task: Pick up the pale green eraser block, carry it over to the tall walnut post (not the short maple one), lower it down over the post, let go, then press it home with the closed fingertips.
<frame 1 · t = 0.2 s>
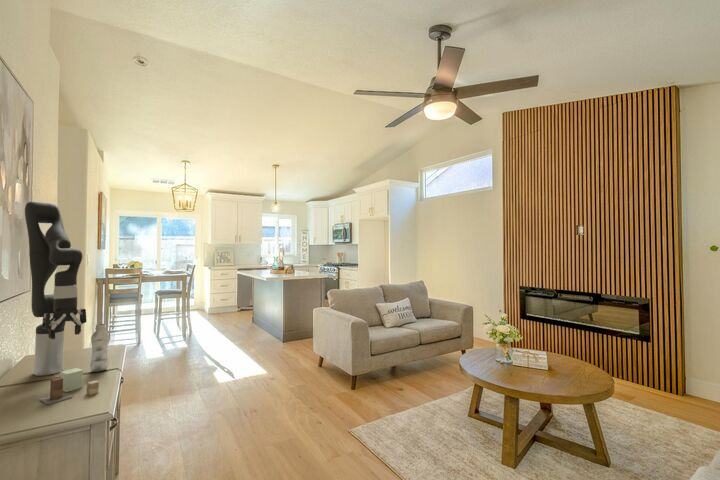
hand: (65, 336, 142), 17 cm above the table, tool pointing down, fingers open, 8 cm apart
maple post: (92, 393, 128), on the table
pale green eraser block: (71, 388, 132), on the table
plastic bottle: (99, 371, 152), on the table
walnut post: (56, 399, 123), on the table
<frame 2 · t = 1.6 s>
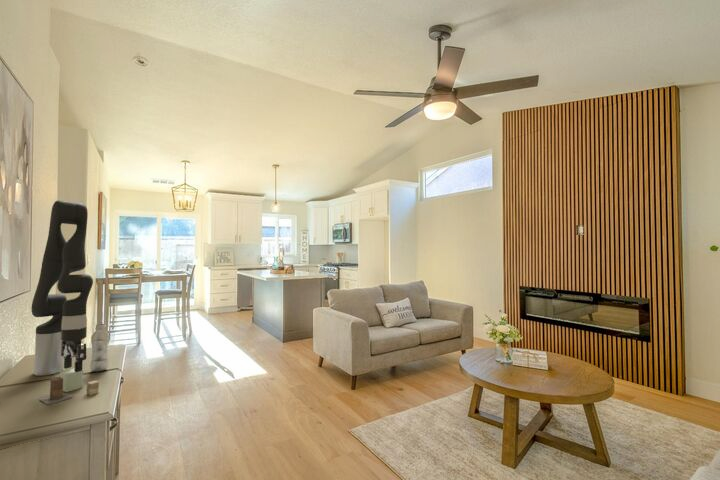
hand: (73, 369, 132), 7 cm above the table, tool pointing down, fingers open, 8 cm apart
nothing on the table moved.
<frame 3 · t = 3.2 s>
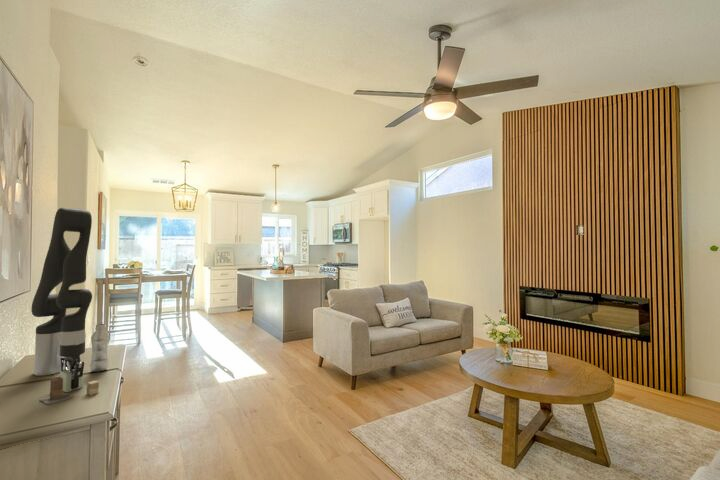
hand: (71, 386, 132), 1 cm above the table, tool pointing down, fingers closed on pale green eraser block, 5 cm apart
pale green eraser block: (71, 388, 132), on the table, touching gripper
everything else where it was.
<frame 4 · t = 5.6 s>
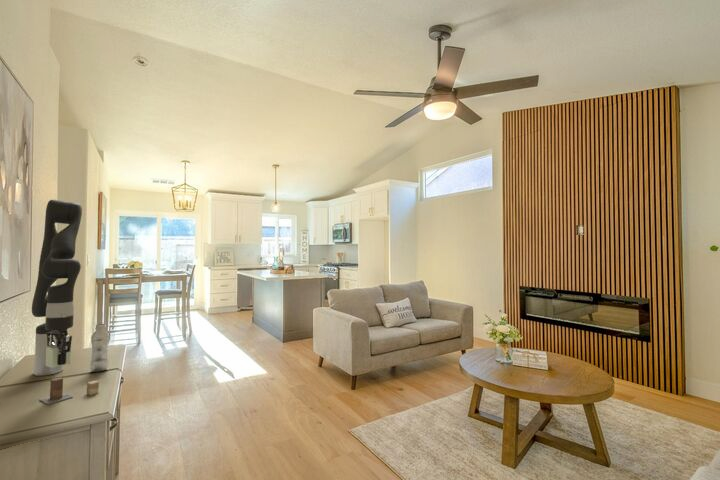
hand: (58, 362, 123), 13 cm above the table, tool pointing down, fingers closed on pale green eraser block, 5 cm apart
pale green eraser block: (58, 364, 123), point 12 cm above the table, touching gripper
everything else where it was.
when the fingers open (3 cm above the table, at t = 8.2 s): pale green eraser block drops 1 cm, resting on walnut post.
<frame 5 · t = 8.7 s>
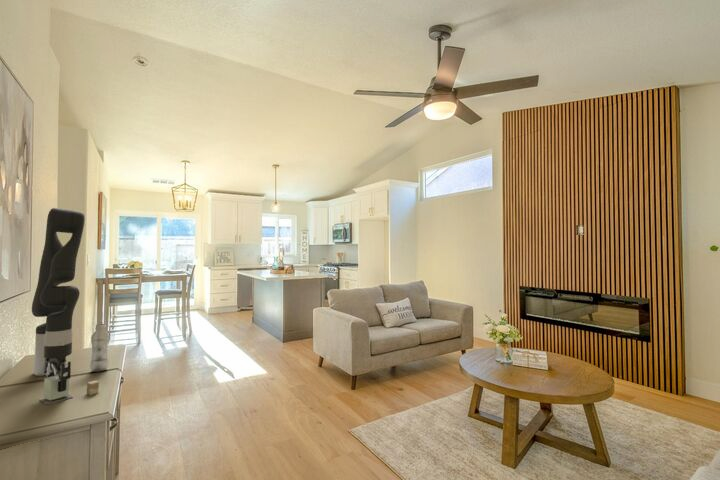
hand: (56, 388, 123), 4 cm above the table, tool pointing down, fingers open, 8 cm apart
pale green eraser block: (56, 396, 123), point 1 cm above the table, touching walnut post
everything else where it was.
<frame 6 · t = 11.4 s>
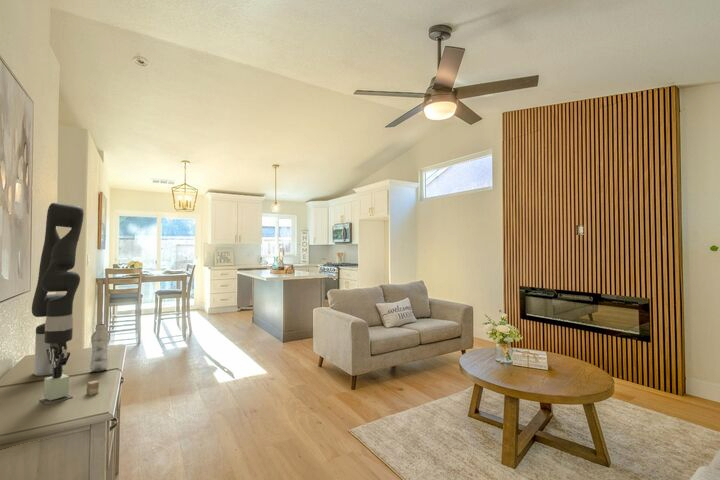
hand: (57, 377, 123), 8 cm above the table, tool pointing down, fingers closed
pale green eraser block: (56, 396, 123), point 1 cm above the table, touching gripper, walnut post
everything else where it was.
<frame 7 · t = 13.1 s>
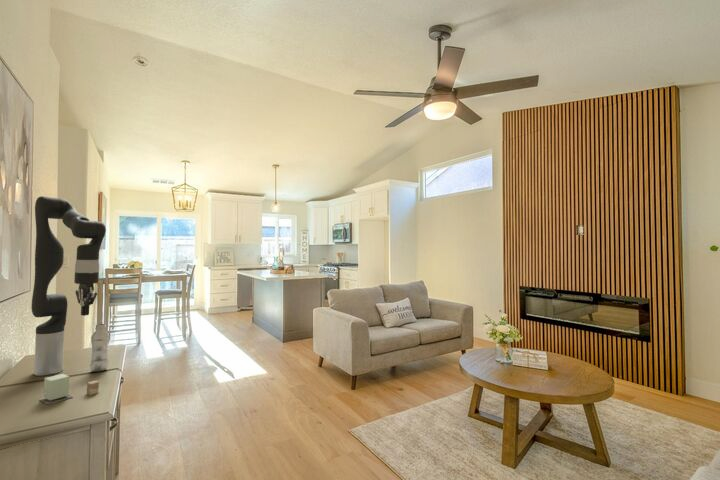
hand: (84, 315, 137), 27 cm above the table, tool pointing down, fingers closed
pale green eraser block: (56, 396, 123), point 1 cm above the table, touching walnut post
everything else where it was.
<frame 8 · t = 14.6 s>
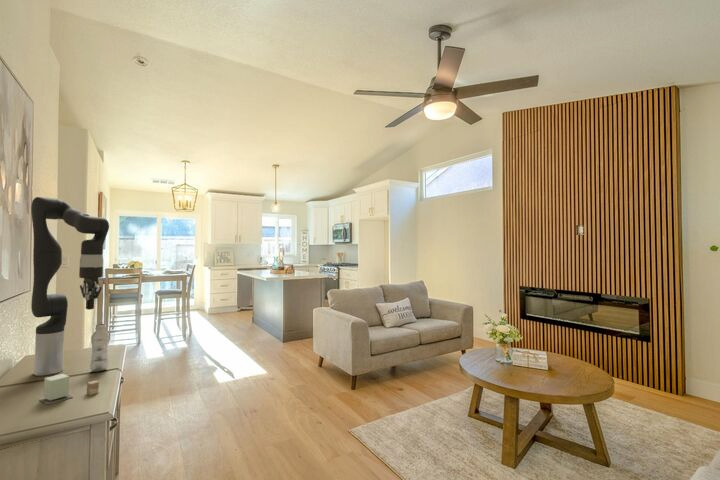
hand: (89, 309, 139), 29 cm above the table, tool pointing down, fingers closed
nothing on the table moved.
at the end: pale green eraser block 0.1 cm from the walnut post (horizontally); pale green eraser block point 1.0 cm above the table; the gripper is holding nothing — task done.
